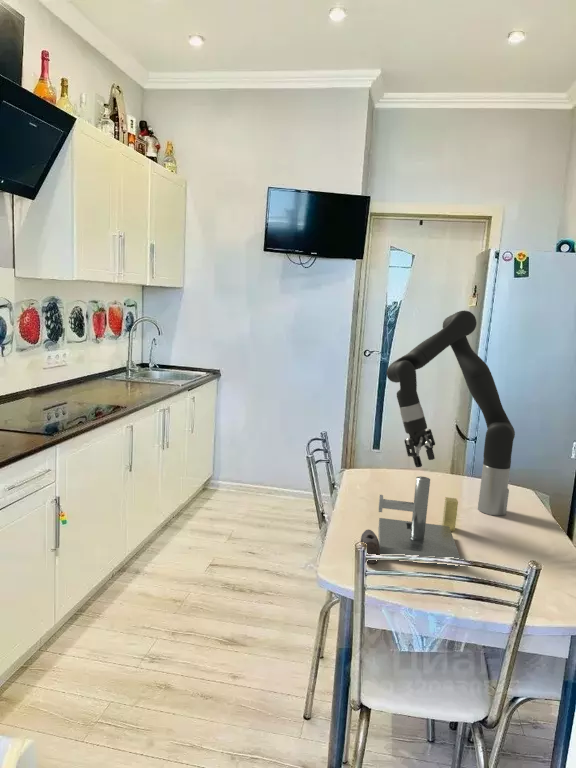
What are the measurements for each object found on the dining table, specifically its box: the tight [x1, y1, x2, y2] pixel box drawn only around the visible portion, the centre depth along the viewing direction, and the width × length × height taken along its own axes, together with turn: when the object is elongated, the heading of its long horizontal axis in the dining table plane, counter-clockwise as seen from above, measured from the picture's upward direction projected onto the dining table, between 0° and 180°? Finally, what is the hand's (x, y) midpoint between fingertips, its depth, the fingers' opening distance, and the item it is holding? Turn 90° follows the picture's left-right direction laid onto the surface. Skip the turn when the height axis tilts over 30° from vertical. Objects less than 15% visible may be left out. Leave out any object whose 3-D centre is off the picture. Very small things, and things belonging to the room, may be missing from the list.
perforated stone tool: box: [359, 529, 380, 564], centre depth 158 cm, size 15×5×7 cm, turn 175°
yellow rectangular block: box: [441, 496, 459, 532], centre depth 181 cm, size 4×4×10 cm
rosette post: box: [377, 475, 461, 569], centre depth 164 cm, size 23×22×22 cm
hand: (425, 463), depth 189 cm, fingers open, 8 cm apart
